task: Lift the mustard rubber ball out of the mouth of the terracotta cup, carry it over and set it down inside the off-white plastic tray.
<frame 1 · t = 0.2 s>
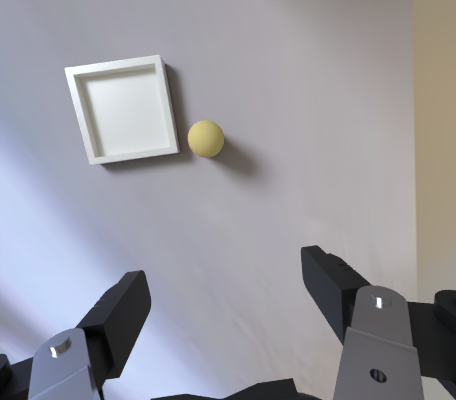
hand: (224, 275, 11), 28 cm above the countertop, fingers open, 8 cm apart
tray: (130, 115, 35), on the countertop
ball: (206, 139, 30), point 7 cm above the countertop, touching cup
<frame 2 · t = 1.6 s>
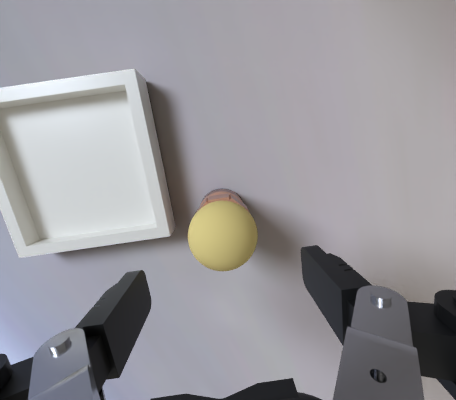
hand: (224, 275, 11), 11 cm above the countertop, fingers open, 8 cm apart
tray: (89, 169, 21), on the countertop
ball: (222, 234, 16), point 7 cm above the countertop, touching cup
cup: (222, 210, 22), on the countertop
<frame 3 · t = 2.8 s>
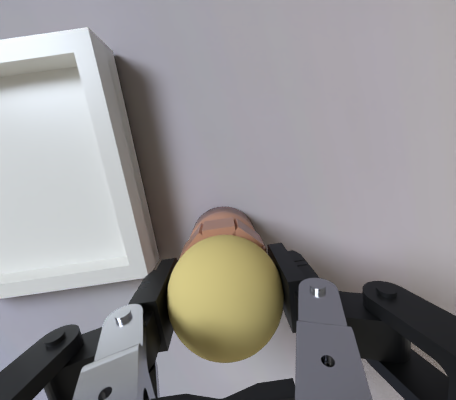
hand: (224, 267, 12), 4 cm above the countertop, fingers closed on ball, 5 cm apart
tray: (36, 179, 15), on the countertop
ball: (225, 291, 9), point 7 cm above the countertop, touching cup, gripper
cup: (223, 236, 16), on the countertop
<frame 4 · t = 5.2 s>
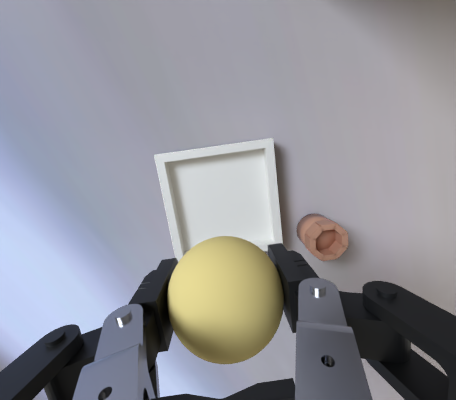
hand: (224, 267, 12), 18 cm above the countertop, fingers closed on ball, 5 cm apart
tray: (222, 200, 29), on the countertop
ball: (225, 293, 9), point 20 cm above the countertop, touching gripper
cup: (312, 229, 30), on the countertop
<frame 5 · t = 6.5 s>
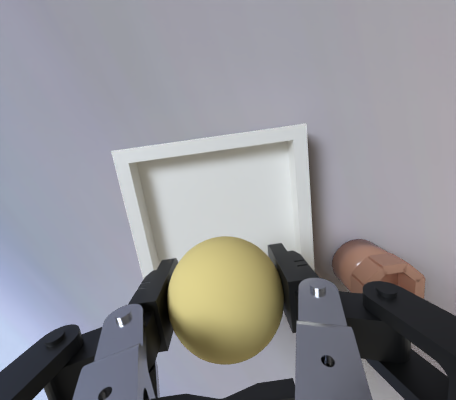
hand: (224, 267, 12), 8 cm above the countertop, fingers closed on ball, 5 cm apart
tray: (222, 219, 19), on the countertop
ball: (225, 293, 9), point 10 cm above the countertop, touching gripper
cup: (356, 261, 20), on the countertop
when the fingers open (3 cm above the countertop, at t = 7.8 s): ball drops 1 cm, resting on tray.
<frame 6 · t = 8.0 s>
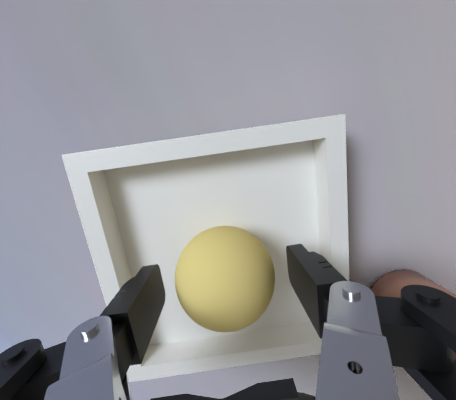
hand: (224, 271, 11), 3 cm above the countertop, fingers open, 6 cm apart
tray: (223, 245, 14), on the countertop
ball: (225, 274, 11), point 3 cm above the countertop, touching tray
cup: (398, 298, 16), on the countertop
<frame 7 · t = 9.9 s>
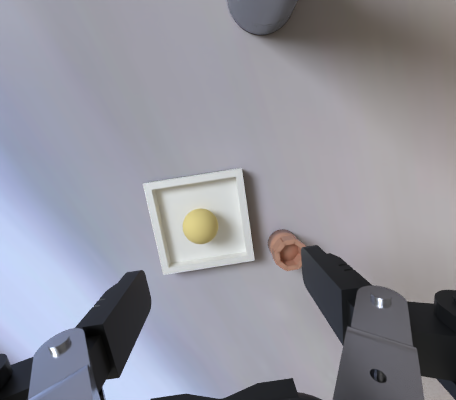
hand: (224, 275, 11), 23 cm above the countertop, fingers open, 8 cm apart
tray: (202, 219, 34), on the countertop
ball: (200, 226, 30), point 3 cm above the countertop, touching tray
cup: (281, 243, 35), on the countertop
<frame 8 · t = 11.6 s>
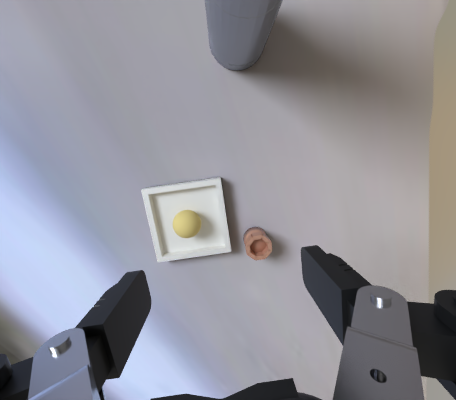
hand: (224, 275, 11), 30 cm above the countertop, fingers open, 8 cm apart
tray: (189, 218, 41), on the countertop
ball: (187, 223, 38), point 3 cm above the countertop, touching tray
cup: (254, 238, 43), on the countertop
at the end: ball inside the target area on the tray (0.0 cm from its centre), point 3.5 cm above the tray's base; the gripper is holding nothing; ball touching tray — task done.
